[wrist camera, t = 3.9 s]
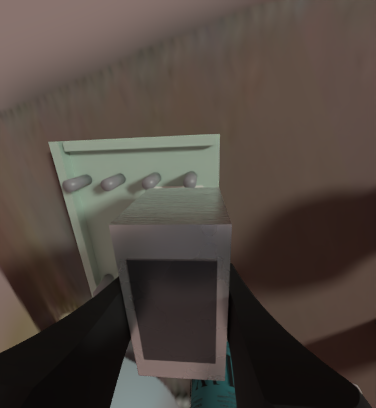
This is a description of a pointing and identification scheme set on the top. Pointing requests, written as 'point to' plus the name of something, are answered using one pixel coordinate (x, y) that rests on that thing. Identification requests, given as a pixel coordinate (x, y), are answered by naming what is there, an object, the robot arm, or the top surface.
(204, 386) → the beverage bottle
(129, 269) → the block
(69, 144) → the tray
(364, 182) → the top surface
